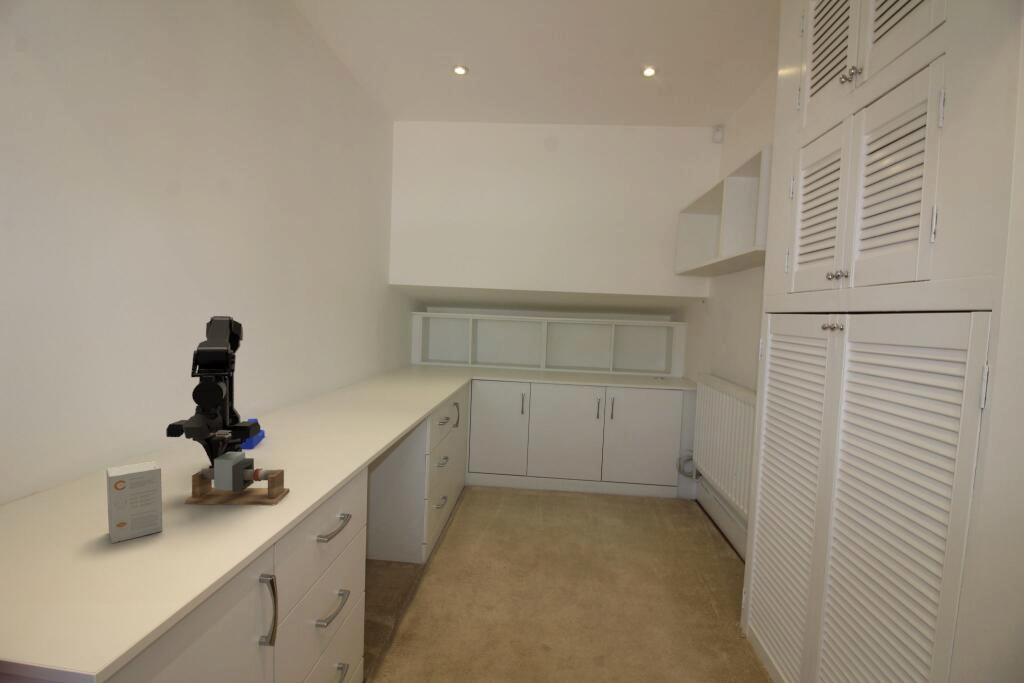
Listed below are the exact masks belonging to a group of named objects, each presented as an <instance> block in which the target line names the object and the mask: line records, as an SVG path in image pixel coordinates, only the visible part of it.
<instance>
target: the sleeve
mask: <svg viewBox="0 0 1024 683" xmlns="http://www.w3.org/2000/svg"><path fill="white" fill-rule="evenodd" d="M245 458H246V451H242V452H227V453H225V454H223V455H221V456H220V457H218V458H216V459H214V468H213V469H214V484H213V485H214V490H232V466H233V465H235V464H237V463H238V462H240V461H241V460H243V459H245Z"/></svg>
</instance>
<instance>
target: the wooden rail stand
mask: <svg viewBox="0 0 1024 683" xmlns="http://www.w3.org/2000/svg"><path fill="white" fill-rule="evenodd" d="M212 480H214V468H209V467H208V468H207V467H206V468H201V469H200V471H197V472H195V473H194V474H192V475H191V496H190V497H188V498H187V499H185V500H184V504H185V503H189V504H188V505H191V504H190V503H194V504H193V505H198V504H197V503H202V504H201V505H250V504H267V505H266V506H269V505H271V506H272V505H273V504H275V505H277V502H278V501H279V500H280V501H281V500H282V499H283V498H284V497H285V496H286V495H288V494H289V493H290V488H285V470H284V469H263V468H256V469H254V470H250V469H243V480H254V482H261V481H267V487H247V488H246V489H245V490H243V491H242V492H232V490H214V487H213V484H212V483H213V482H212ZM288 492H289V493H288ZM282 497H283V498H282ZM281 498H282V499H281ZM280 501H279V502H280ZM273 506H274V505H273Z"/></svg>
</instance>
